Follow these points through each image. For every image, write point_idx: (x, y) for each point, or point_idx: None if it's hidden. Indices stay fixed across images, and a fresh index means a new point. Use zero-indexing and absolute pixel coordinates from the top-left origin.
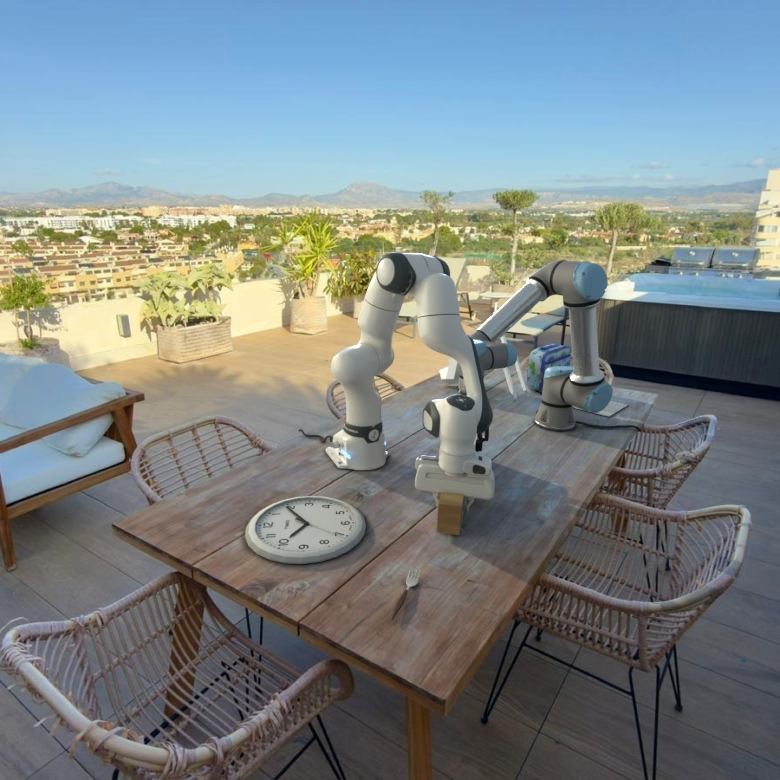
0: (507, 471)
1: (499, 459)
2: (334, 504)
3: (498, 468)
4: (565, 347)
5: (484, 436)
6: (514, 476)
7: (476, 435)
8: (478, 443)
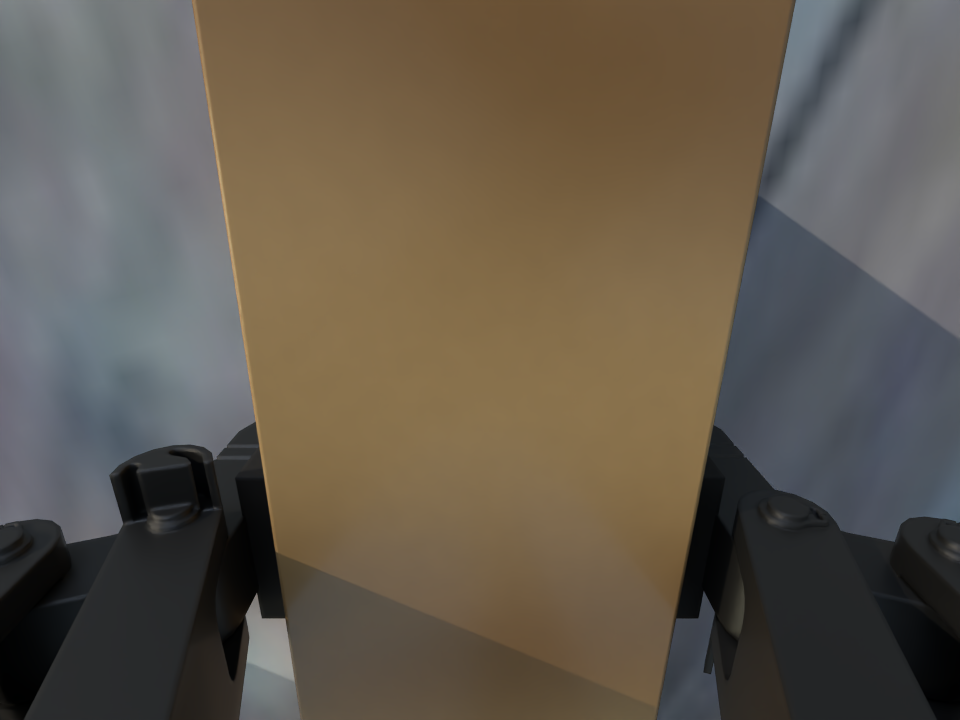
0: (893, 411)
1: (878, 119)
2: None
3: (814, 369)
4: None
5: (901, 623)
6: (932, 491)
7: (689, 436)
8: (690, 611)
